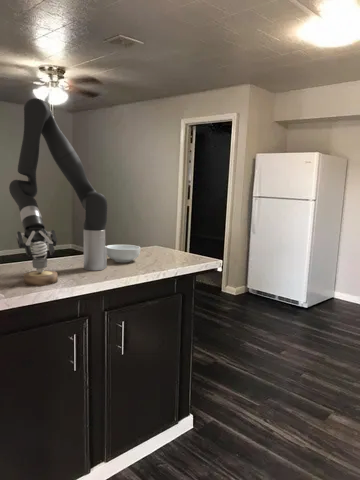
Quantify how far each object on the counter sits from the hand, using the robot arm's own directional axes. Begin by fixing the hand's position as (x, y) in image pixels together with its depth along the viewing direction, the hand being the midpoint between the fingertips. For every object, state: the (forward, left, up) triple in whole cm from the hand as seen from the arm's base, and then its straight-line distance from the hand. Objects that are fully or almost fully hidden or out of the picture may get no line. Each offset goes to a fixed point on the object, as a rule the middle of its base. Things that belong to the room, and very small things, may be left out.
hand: (41, 254), depth 145 cm
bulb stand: (-1, -1, -11) cm, 11 cm away
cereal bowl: (-51, -2, -11) cm, 52 cm away
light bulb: (-1, -2, -8) cm, 8 cm away
